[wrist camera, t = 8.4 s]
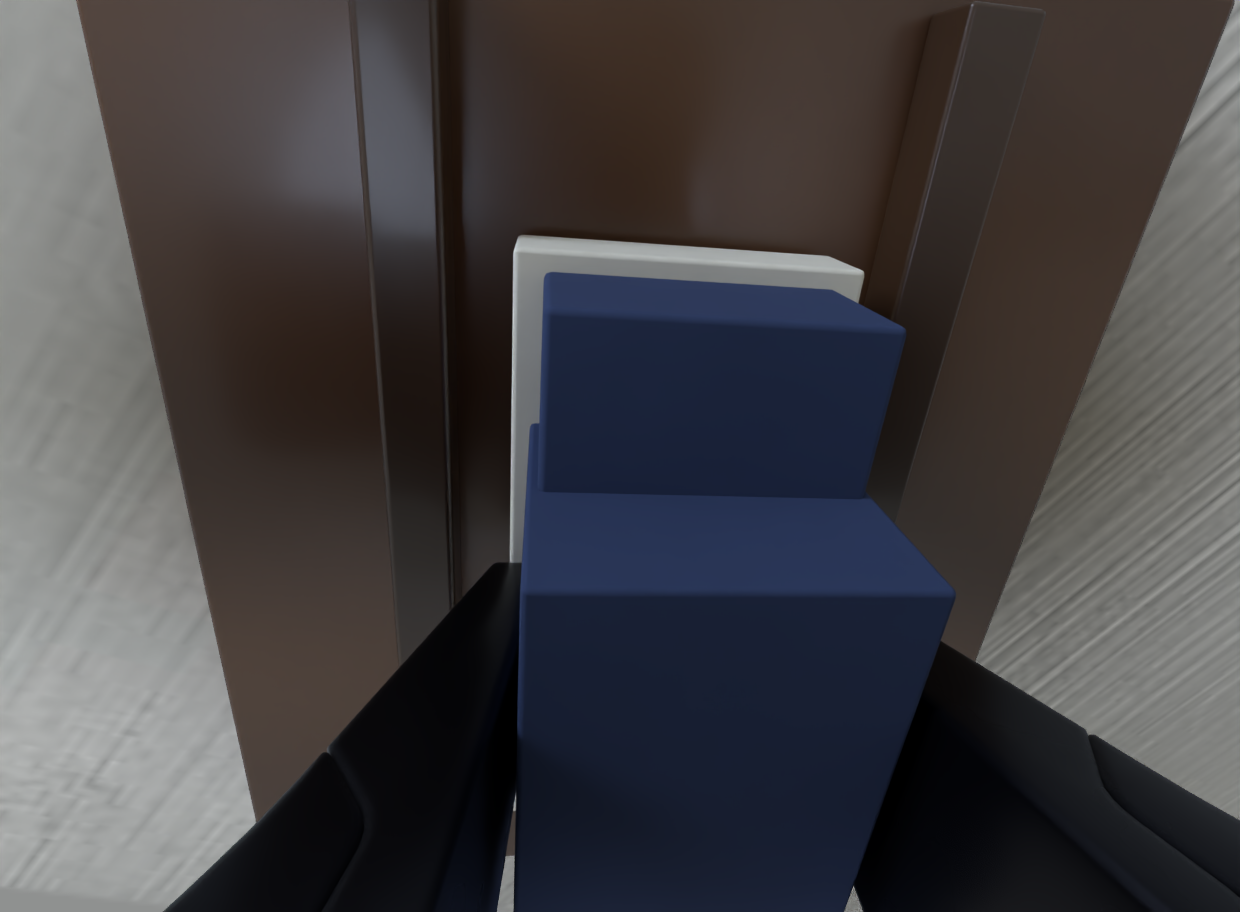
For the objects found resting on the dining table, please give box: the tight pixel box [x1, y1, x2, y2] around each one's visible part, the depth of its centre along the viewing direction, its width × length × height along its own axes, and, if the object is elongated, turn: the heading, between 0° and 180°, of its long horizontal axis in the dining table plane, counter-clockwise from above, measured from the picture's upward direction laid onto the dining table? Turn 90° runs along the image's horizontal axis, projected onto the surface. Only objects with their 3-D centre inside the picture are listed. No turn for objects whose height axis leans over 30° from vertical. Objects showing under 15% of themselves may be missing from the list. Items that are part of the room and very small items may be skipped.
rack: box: [76, 0, 1234, 856], centre depth 10 cm, size 14×12×2 cm
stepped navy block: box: [510, 235, 956, 912], centre depth 7 cm, size 8×4×4 cm, turn 175°
